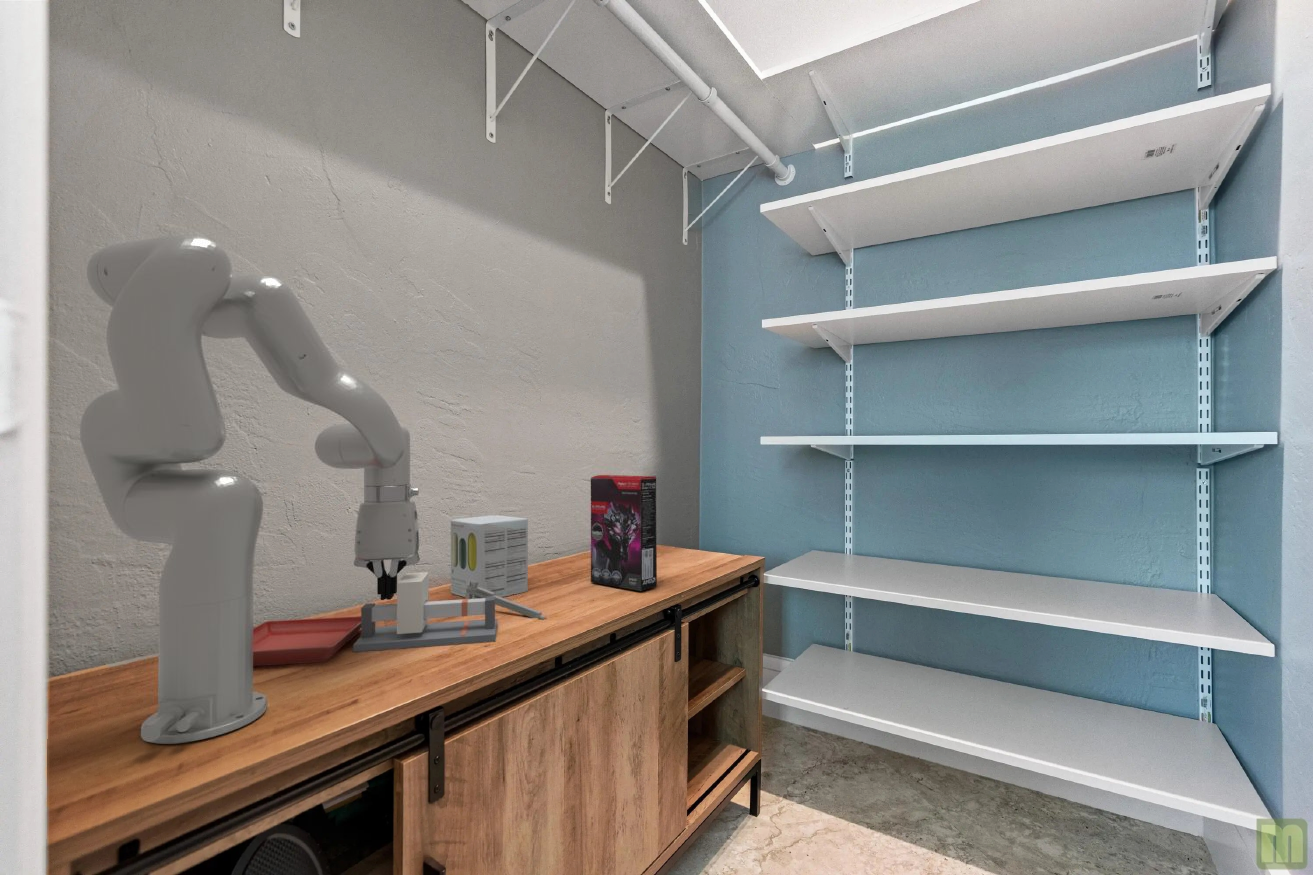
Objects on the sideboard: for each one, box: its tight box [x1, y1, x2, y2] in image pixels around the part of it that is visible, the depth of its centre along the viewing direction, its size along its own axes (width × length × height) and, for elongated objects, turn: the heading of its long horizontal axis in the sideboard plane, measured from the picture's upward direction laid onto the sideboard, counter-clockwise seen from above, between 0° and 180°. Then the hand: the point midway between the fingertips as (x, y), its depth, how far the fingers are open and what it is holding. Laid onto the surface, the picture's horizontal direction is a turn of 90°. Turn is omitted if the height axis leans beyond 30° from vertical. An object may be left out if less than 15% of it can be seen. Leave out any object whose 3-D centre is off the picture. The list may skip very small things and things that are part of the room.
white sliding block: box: [396, 571, 430, 634], centre depth 106 cm, size 8×4×9 cm, turn 13°
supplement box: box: [450, 514, 529, 599], centre depth 140 cm, size 13×13×18 cm
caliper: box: [465, 580, 547, 620], centre depth 122 cm, size 20×1×6 cm, turn 65°
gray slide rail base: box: [353, 596, 498, 653], centre depth 107 cm, size 10×23×6 cm, turn 103°
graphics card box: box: [590, 474, 658, 592], centre depth 146 cm, size 17×7×27 cm, turn 53°
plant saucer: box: [253, 615, 361, 667], centre depth 101 cm, size 18×18×3 cm
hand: (387, 597), depth 105 cm, fingers closed
